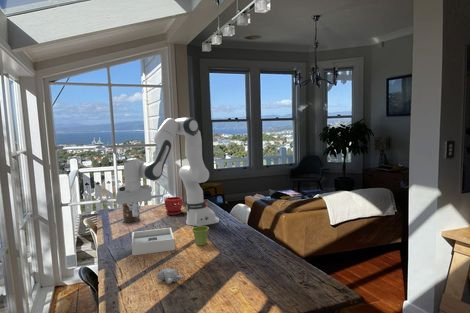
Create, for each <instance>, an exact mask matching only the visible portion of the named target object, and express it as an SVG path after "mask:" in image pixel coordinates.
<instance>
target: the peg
mask: <svg viewBox="0 0 470 313" xmlns="http://www.w3.org/2000/svg"><path fill="white" fill-rule="evenodd" d="M132 213H133V217H136V216H138V204H137V202H133V203H132Z"/></svg>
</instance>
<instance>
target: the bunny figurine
mask: <svg viewBox="0 0 470 313" xmlns="http://www.w3.org/2000/svg"><path fill="white" fill-rule="evenodd" d="M156 279H157V280H159V281H164V282H165V283H166V284H171V283H173V282H174V283H176V282H177V281H178V280H185V279H186V277H185V276H184V275H182V274H179V270H178V268H171V267H166V268H163V269H160V270H159V273H157V274H156Z"/></svg>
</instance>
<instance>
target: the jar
mask: <svg viewBox="0 0 470 313" xmlns="http://www.w3.org/2000/svg"><path fill="white" fill-rule="evenodd" d="M137 204H138V206H139V205H140V204H139V202H137ZM121 205H122V207H121V208H122V220H123V222H124V221H125V223H133V222H137V220H138V221H139V220H140V219H141V218H140V217H141V216H140V209H139V210H138V216H136V217H133V213H132V210H130V208H129V207H128V205H127V203H124V204H121ZM130 206H131V207H132V203H130Z"/></svg>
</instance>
